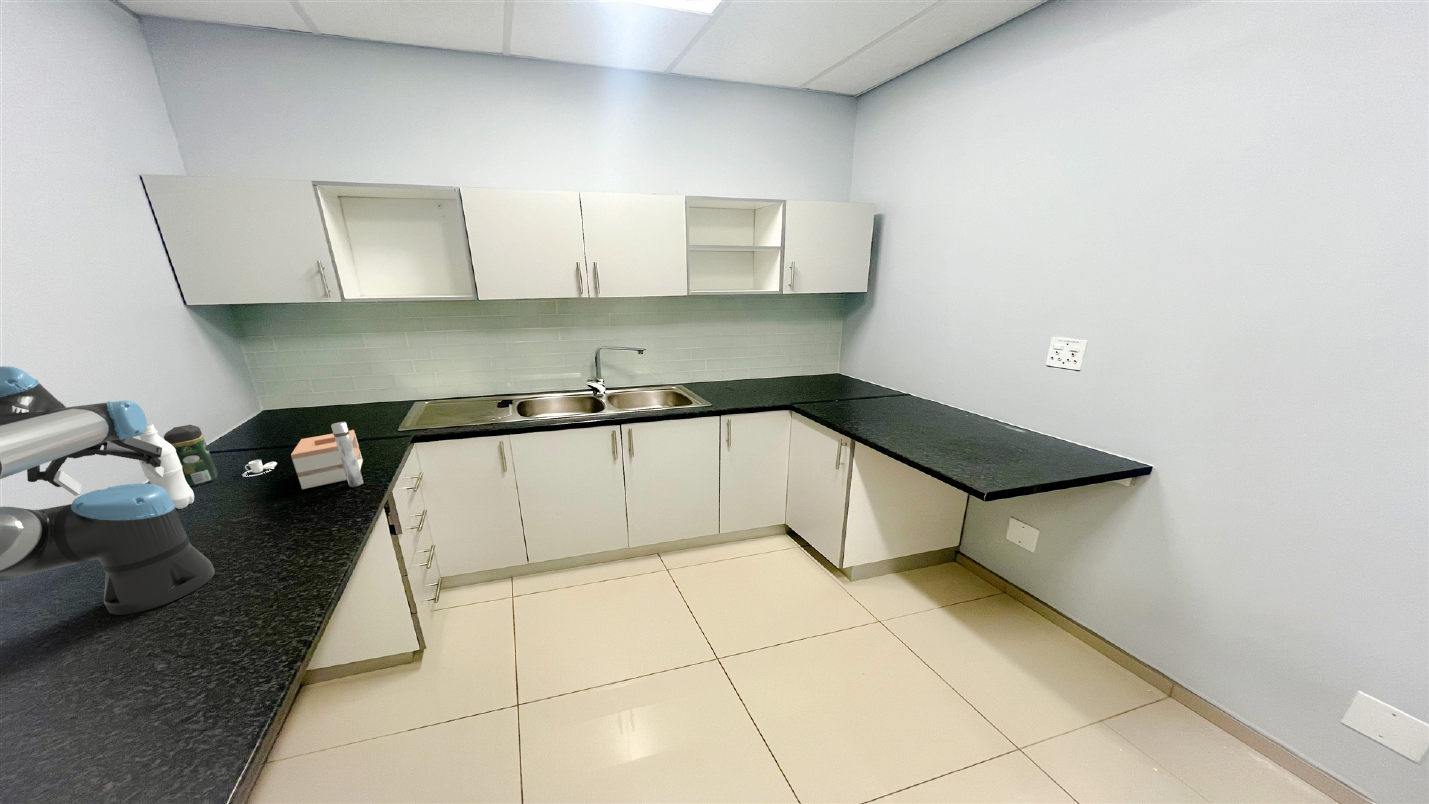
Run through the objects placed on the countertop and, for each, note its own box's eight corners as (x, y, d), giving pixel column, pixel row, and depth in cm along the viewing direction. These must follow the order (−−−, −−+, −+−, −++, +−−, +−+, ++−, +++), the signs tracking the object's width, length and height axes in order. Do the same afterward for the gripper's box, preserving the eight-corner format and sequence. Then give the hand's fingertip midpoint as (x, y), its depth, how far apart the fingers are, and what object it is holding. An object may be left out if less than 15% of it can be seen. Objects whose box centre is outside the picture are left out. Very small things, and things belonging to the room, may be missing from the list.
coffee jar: (185, 480, 152) (163, 427, 147) (219, 472, 158) (199, 421, 152) (181, 490, 146) (158, 434, 140) (217, 481, 151) (196, 427, 145)
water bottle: (204, 500, 138) (172, 421, 131) (175, 513, 131) (139, 430, 124) (182, 500, 139) (149, 421, 131) (153, 512, 132) (116, 430, 125)
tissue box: (358, 477, 150) (348, 444, 146) (302, 489, 143) (290, 454, 139) (362, 460, 163) (354, 429, 159) (311, 471, 156) (301, 439, 152)
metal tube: (363, 484, 144) (345, 424, 138) (348, 488, 142) (329, 426, 136) (364, 480, 147) (347, 420, 141) (349, 483, 145) (331, 423, 140)
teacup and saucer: (278, 464, 163) (274, 454, 162) (276, 472, 157) (273, 460, 156) (244, 472, 158) (239, 461, 157) (241, 480, 152) (236, 468, 151)
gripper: (142, 401, 105) (194, 455, 120) (-39, 429, 93) (45, 485, 108) (137, 426, 102) (191, 478, 117) (-51, 458, 89) (37, 512, 104)
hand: (121, 481), depth 112 cm, fingers open, 13 cm apart
